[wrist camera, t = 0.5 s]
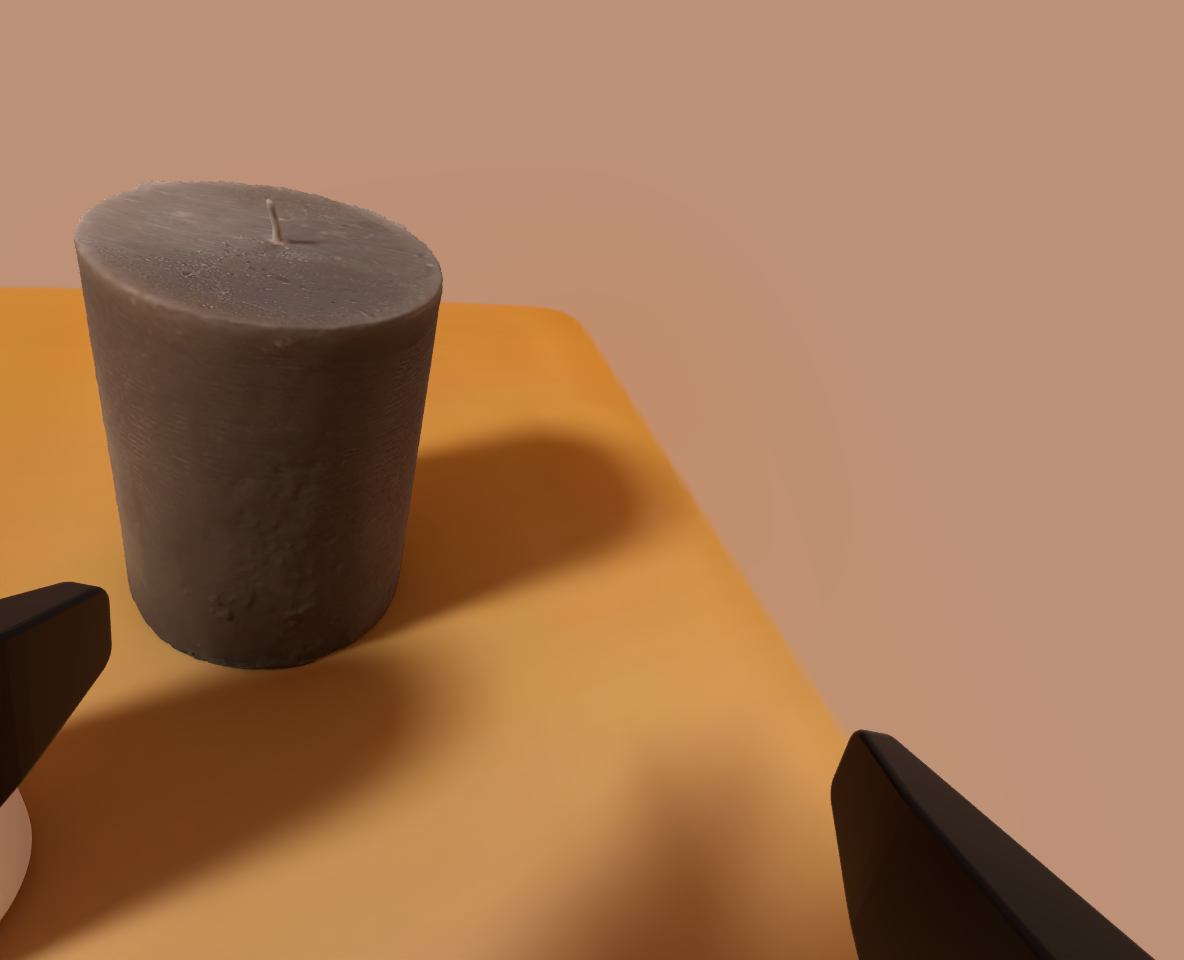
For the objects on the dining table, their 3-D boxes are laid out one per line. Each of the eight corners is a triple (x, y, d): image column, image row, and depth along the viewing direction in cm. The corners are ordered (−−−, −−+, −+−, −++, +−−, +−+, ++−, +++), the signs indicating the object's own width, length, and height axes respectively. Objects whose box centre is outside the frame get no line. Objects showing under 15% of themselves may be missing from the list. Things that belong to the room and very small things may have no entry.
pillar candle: (307, 714, 25) (330, 327, 16) (63, 598, 25) (-48, 166, 16) (440, 545, 32) (506, 220, 23) (250, 460, 33) (243, 115, 24)
